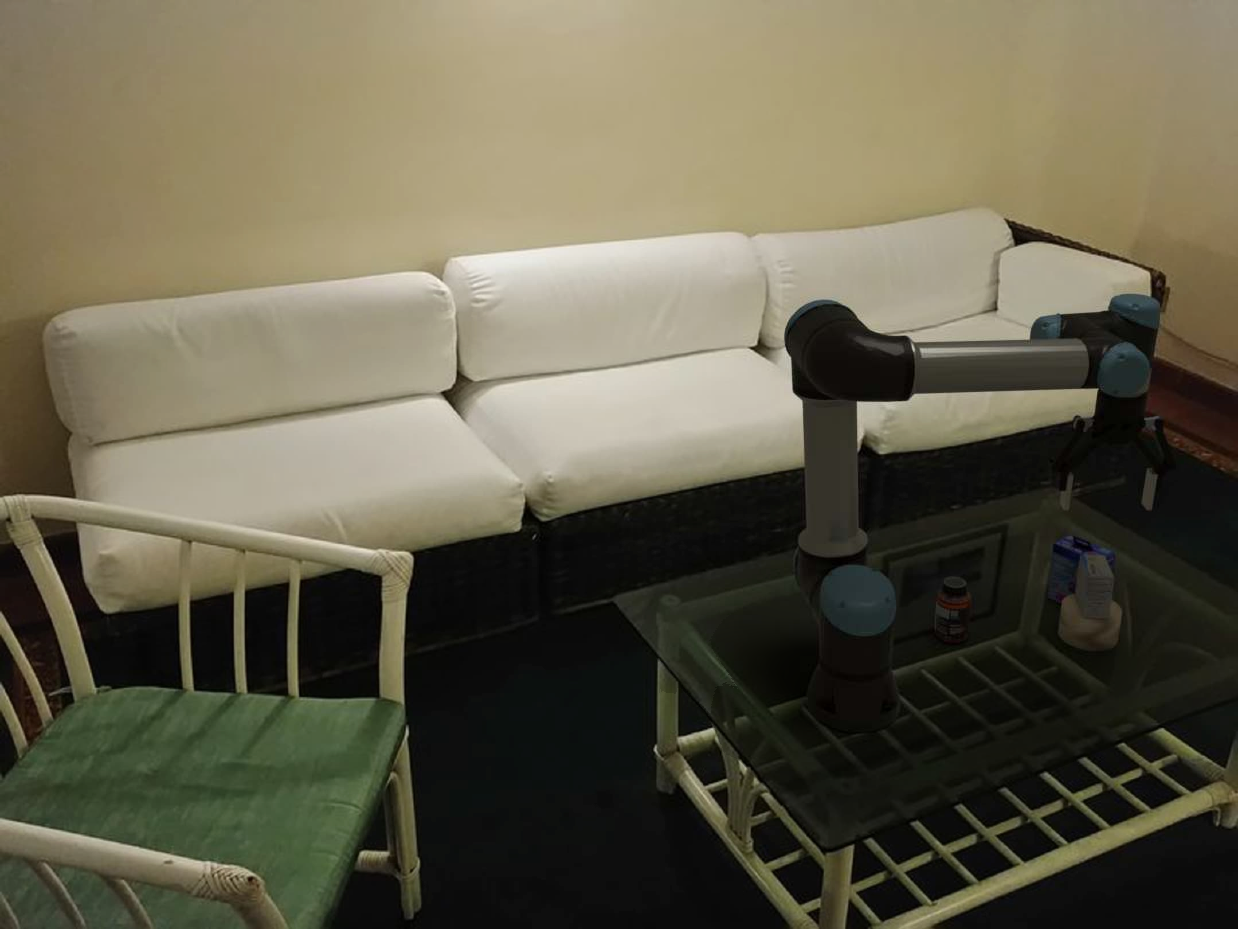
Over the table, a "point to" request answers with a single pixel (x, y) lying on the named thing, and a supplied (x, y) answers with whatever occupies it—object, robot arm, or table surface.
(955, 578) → the supplement bottle
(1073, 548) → the ink cartridge box
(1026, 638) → the table surface
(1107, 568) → the medicine box
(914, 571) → the table surface
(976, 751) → the table surface
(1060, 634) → the birch riser
